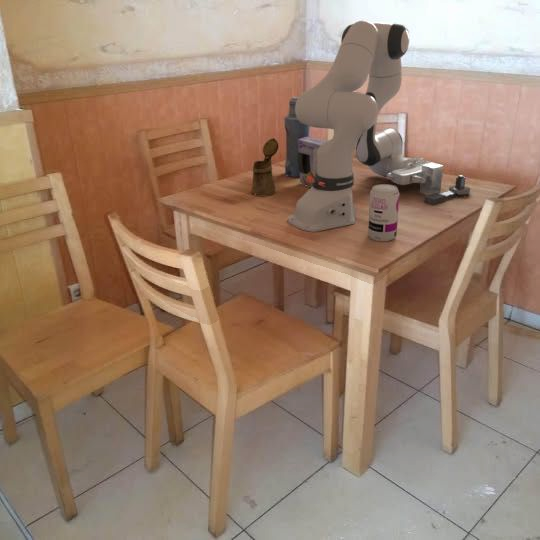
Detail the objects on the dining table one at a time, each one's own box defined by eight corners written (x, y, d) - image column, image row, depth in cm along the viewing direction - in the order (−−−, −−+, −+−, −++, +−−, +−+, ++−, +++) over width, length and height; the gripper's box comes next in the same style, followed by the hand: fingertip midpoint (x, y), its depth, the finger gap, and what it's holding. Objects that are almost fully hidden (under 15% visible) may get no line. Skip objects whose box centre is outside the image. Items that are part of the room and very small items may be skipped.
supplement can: (394, 231, 167) (398, 183, 161) (397, 242, 160) (401, 192, 153) (367, 231, 168) (369, 183, 162) (368, 242, 161) (371, 192, 154)
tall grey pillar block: (430, 196, 195) (433, 168, 190) (419, 192, 199) (422, 165, 194) (440, 193, 197) (443, 165, 193) (429, 189, 201) (431, 162, 197)
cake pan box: (297, 183, 213) (296, 137, 205) (307, 181, 216) (307, 135, 208) (327, 196, 199) (328, 147, 191) (339, 193, 201) (340, 144, 193)
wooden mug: (285, 186, 210) (284, 139, 202) (267, 197, 199) (266, 147, 192) (265, 183, 214) (263, 137, 206) (246, 194, 204) (244, 145, 196)
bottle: (283, 172, 227) (281, 96, 214) (306, 170, 229) (306, 94, 215) (288, 178, 219) (286, 100, 206) (312, 176, 220) (312, 98, 207)
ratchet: (457, 189, 200) (459, 171, 198) (473, 194, 195) (476, 176, 192) (420, 200, 191) (422, 182, 188) (436, 205, 186) (438, 187, 183)
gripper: (383, 166, 199) (413, 175, 188) (423, 156, 209) (453, 164, 198) (382, 183, 201) (411, 193, 191) (422, 173, 211) (451, 181, 201)
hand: (433, 178), depth 195 cm, fingers open, 7 cm apart
